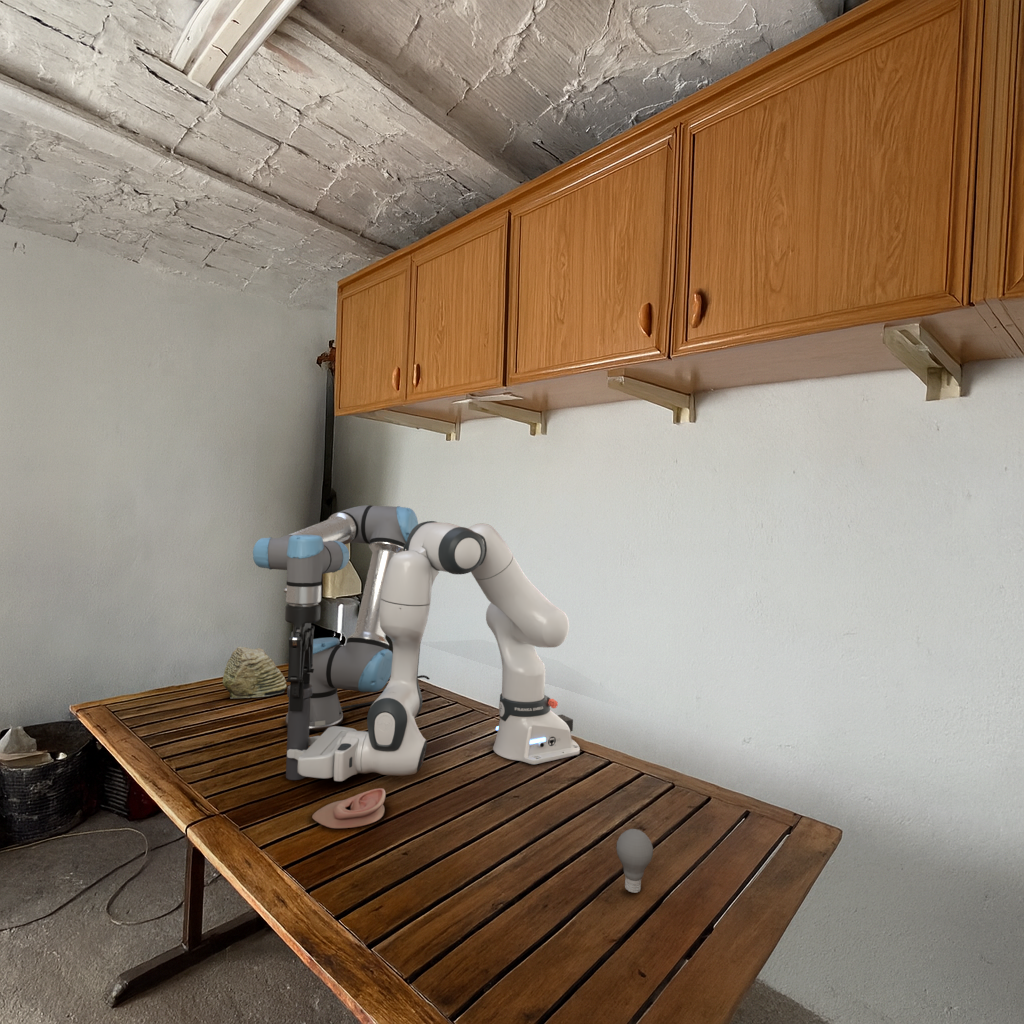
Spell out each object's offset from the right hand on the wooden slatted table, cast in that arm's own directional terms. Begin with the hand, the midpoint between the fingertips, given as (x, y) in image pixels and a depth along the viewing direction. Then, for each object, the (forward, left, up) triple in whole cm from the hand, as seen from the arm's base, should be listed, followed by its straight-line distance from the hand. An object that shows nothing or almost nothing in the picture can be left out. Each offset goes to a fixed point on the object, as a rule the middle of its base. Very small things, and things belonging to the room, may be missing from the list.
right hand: (293, 747), depth 143 cm
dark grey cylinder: (-1, 0, -6) cm, 6 cm away
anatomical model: (-10, +22, -6) cm, 25 cm away
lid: (-1, 0, +14) cm, 14 cm away
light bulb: (-51, +61, -6) cm, 80 cm away
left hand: (-1, 0, +9) cm, 10 cm away
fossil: (+9, -62, -6) cm, 63 cm away
